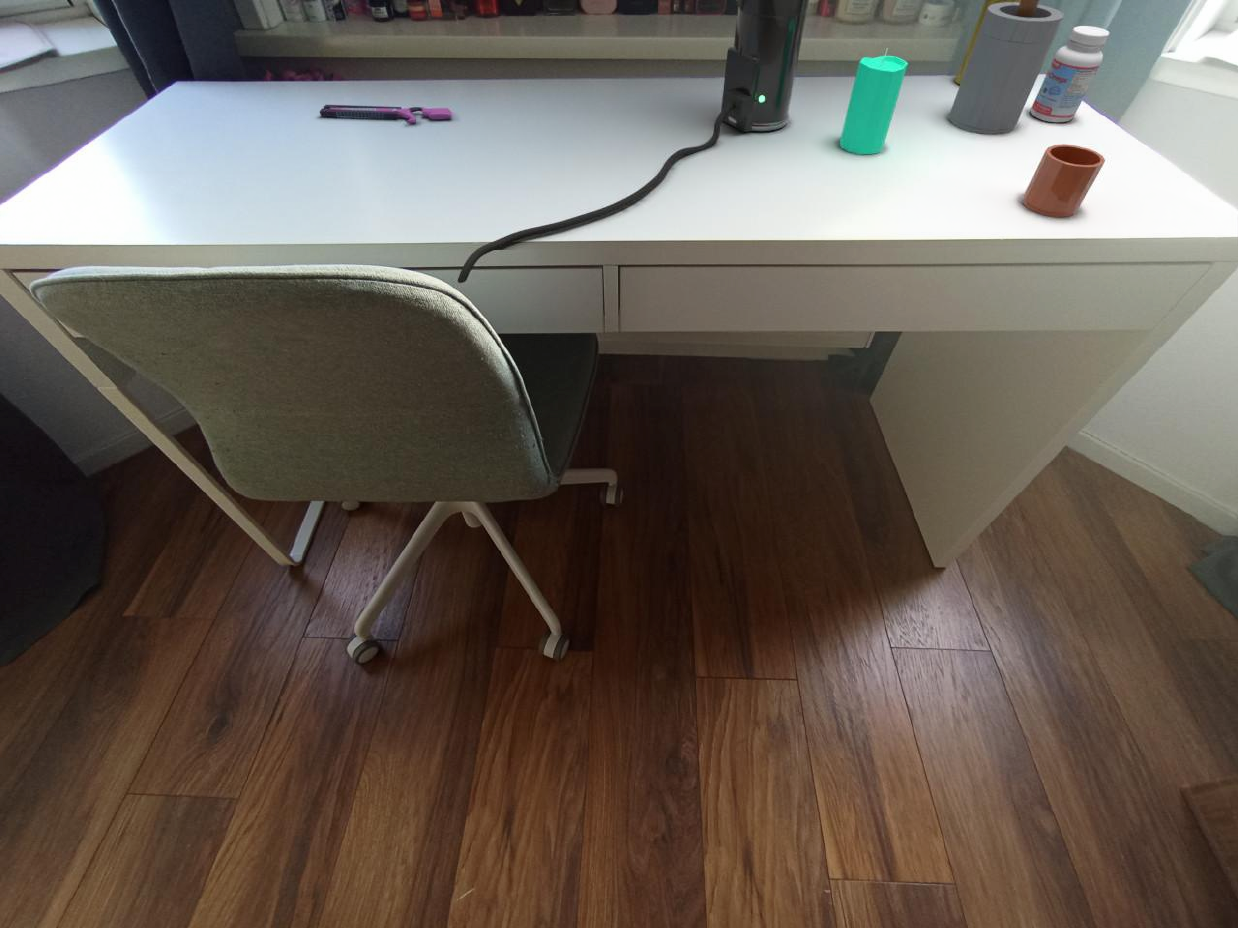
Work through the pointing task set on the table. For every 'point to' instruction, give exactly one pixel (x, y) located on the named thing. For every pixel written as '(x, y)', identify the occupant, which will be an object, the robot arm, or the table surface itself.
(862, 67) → the candle
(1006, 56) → the gray cylindrical container
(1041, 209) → the holder
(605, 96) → the table surface
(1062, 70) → the pill bottle
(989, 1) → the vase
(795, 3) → the robot arm
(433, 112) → the pink toy gun
